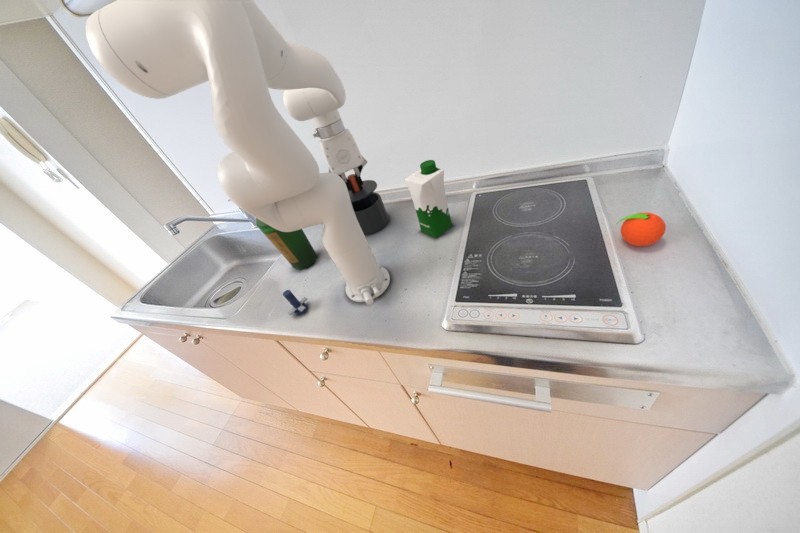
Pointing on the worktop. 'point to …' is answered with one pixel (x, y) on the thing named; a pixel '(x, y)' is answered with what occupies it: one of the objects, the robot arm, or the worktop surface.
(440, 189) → the milk carton
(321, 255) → the worktop surface
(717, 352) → the worktop surface
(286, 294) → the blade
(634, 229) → the clementine
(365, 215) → the dark grey cup
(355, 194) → the lid
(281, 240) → the bottle
